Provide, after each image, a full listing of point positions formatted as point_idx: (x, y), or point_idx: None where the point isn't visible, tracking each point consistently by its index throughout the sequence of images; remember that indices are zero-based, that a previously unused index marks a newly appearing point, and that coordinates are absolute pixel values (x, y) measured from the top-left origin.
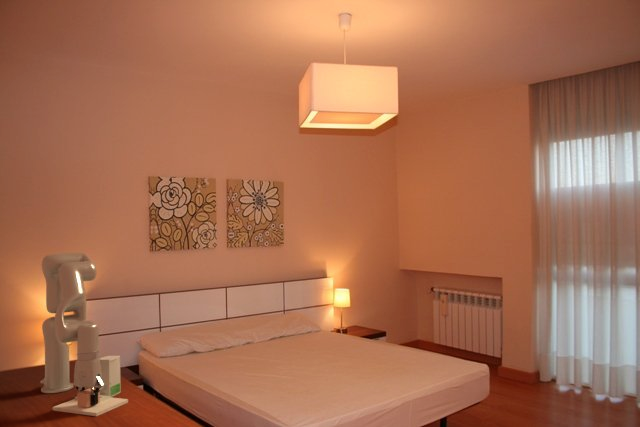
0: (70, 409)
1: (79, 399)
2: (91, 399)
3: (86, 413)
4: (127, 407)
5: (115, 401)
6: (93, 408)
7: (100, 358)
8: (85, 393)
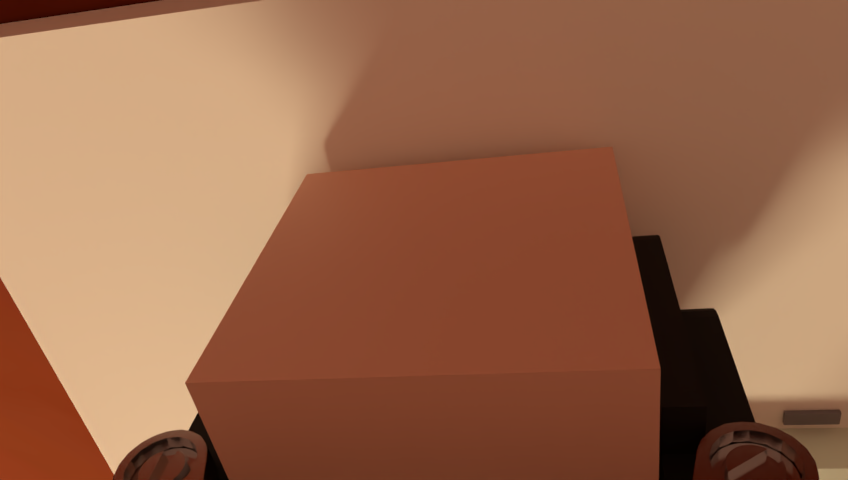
0: None
1: (544, 240)
2: None
3: (145, 10)
4: (12, 449)
5: None
6: (204, 208)
7: None
8: (288, 397)
